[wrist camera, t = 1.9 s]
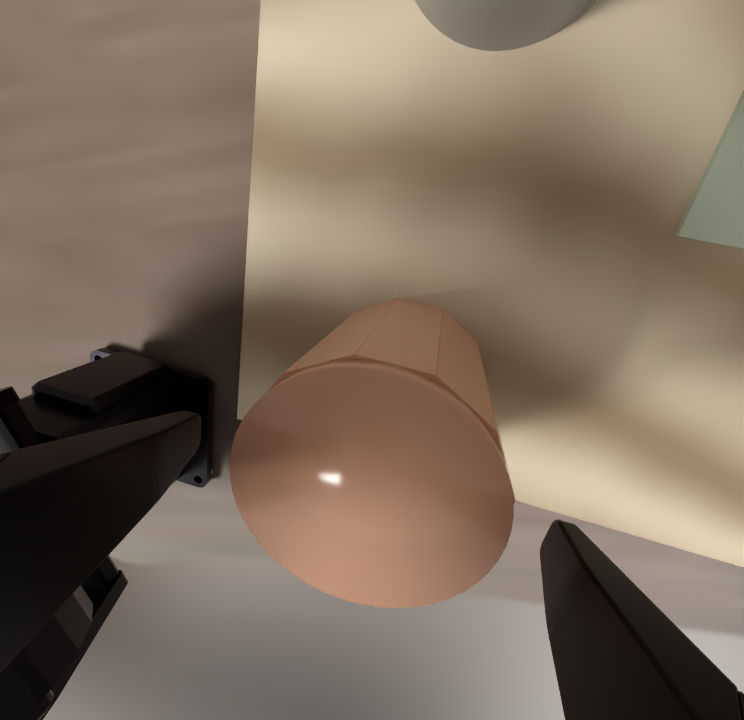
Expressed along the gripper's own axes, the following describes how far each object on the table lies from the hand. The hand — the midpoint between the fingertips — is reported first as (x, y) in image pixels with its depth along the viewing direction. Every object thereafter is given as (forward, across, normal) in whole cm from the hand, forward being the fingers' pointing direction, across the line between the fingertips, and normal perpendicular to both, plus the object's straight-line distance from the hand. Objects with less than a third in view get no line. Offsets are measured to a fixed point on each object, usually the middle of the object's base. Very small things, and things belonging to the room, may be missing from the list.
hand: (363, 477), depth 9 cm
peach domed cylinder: (+6, 0, 0) cm, 6 cm away
